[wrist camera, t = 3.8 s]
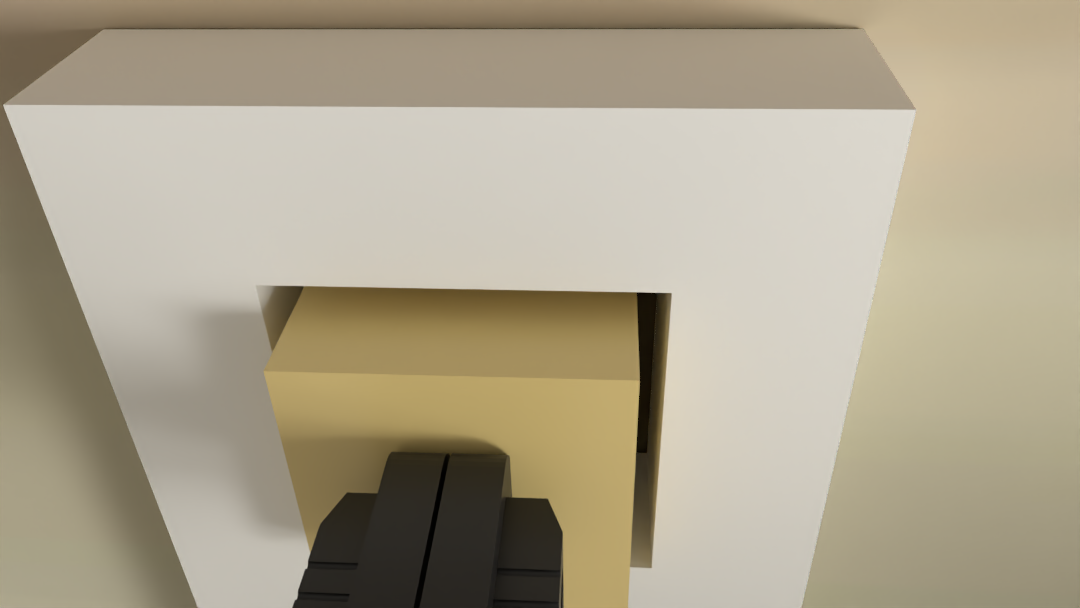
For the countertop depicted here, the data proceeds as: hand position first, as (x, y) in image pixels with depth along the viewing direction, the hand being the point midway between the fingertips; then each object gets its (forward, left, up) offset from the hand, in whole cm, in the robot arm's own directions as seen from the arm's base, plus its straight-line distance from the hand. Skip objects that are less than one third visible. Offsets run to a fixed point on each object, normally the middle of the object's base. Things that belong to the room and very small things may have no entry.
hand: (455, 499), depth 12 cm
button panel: (0, +11, -4) cm, 12 cm away
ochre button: (0, 0, -3) cm, 3 cm away
